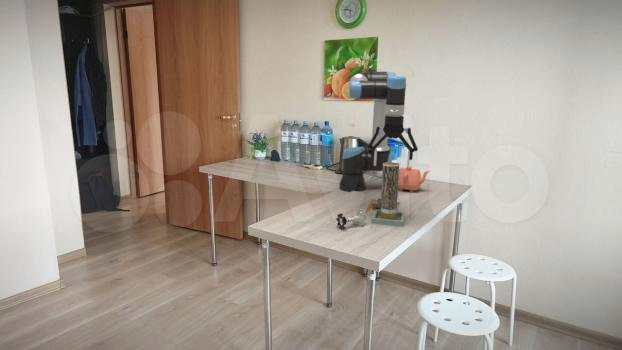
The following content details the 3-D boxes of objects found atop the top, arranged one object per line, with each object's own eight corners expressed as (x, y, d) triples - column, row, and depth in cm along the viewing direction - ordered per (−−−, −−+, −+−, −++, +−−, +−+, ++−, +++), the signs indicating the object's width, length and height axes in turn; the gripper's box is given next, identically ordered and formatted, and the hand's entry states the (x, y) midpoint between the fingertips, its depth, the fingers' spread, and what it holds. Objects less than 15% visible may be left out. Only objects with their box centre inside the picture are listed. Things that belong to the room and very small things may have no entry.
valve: (360, 222, 172) (336, 226, 167) (360, 207, 171) (336, 211, 166) (368, 227, 167) (344, 231, 162) (369, 212, 165) (344, 216, 160)
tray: (371, 225, 169) (371, 218, 168) (375, 215, 181) (375, 209, 180) (402, 228, 165) (403, 221, 165) (404, 218, 178) (404, 212, 177)
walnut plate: (372, 209, 187) (372, 203, 187) (374, 205, 194) (374, 199, 193) (391, 211, 185) (392, 205, 184) (392, 207, 191) (393, 201, 191)
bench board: (365, 214, 183) (365, 212, 183) (371, 201, 203) (371, 199, 203) (396, 217, 179) (396, 215, 179) (400, 203, 200) (400, 202, 199)
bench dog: (376, 212, 183) (377, 200, 181) (377, 210, 185) (378, 198, 184) (385, 213, 182) (386, 201, 180) (386, 211, 184) (387, 199, 183)
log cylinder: (397, 218, 175) (400, 162, 170) (395, 223, 169) (398, 165, 163) (381, 217, 177) (384, 161, 172) (379, 222, 171) (381, 164, 166)
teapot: (388, 187, 231) (389, 165, 228) (411, 185, 236) (412, 163, 233) (405, 195, 215) (406, 171, 213) (429, 192, 221) (431, 169, 218)
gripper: (362, 115, 163) (360, 165, 168) (426, 117, 156) (421, 170, 161) (365, 113, 170) (363, 162, 175) (426, 115, 163) (422, 166, 168)
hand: (391, 166), depth 168 cm, fingers open, 13 cm apart
